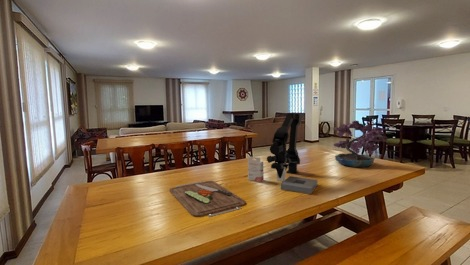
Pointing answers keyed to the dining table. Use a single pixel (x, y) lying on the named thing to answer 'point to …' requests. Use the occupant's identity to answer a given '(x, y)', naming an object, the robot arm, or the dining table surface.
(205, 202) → the chopping board
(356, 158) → the bonsai tree
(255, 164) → the ink cartridge box
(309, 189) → the socket block
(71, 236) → the dining table surface
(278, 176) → the plug peg
